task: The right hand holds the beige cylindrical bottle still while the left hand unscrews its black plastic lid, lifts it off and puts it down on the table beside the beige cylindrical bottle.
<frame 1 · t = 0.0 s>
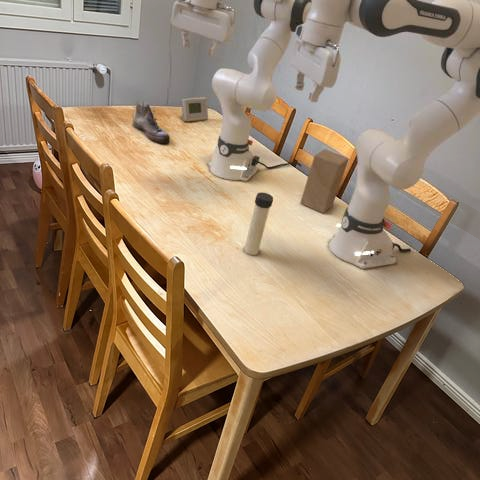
left hand: (198, 51, 131), 48 cm above the table, tool pointing down, fingers open, 8 cm apart
right hand: (305, 95, 110), 48 cm above the table, tool pointing down, fingers open, 8 cm apart
beige cylindrical bottle: (251, 250, 134), on the table
lid: (264, 197, 125), point 19 cm above the table, screwed on, not yet turned
digital clock: (193, 119, 226), on the table
wooden block: (316, 204, 170), on the table
shoe: (151, 134, 198), on the table
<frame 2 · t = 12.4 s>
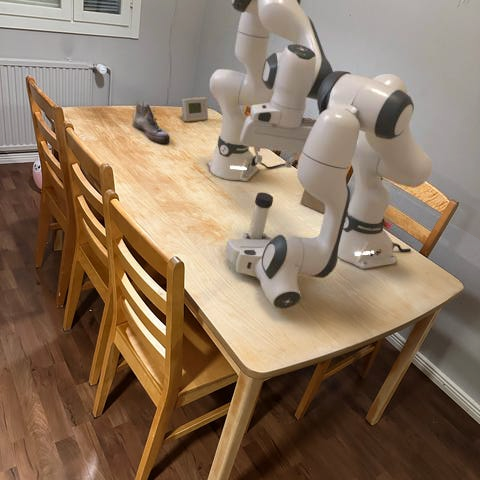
left hand: (272, 164, 119), 29 cm above the table, tool pointing down, fingers open, 7 cm apart
right hand: (253, 235, 132), 5 cm above the table, tool horizontal, fingers closed on beige cylindrical bottle, 4 cm apart
beige cylindrical bottle: (251, 250, 134), on the table, touching right hand
everything else where it was.
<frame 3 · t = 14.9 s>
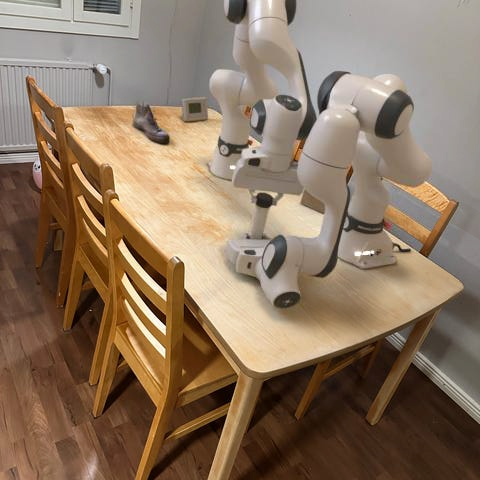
left hand: (263, 203, 126), 17 cm above the table, tool pointing down, fingers closed on lid, 4 cm apart
right hand: (253, 235, 132), 5 cm above the table, tool horizontal, fingers closed on beige cylindrical bottle, 4 cm apart
beige cylindrical bottle: (251, 250, 134), on the table, touching right hand
lid: (264, 197, 125), point 19 cm above the table, screwed on, not yet turned, touching left hand
everything else where it was.
when the left hand's fingers open (17 cm above the table, at t = 16.2 s): lid stays where it is, point 19 cm above the table.
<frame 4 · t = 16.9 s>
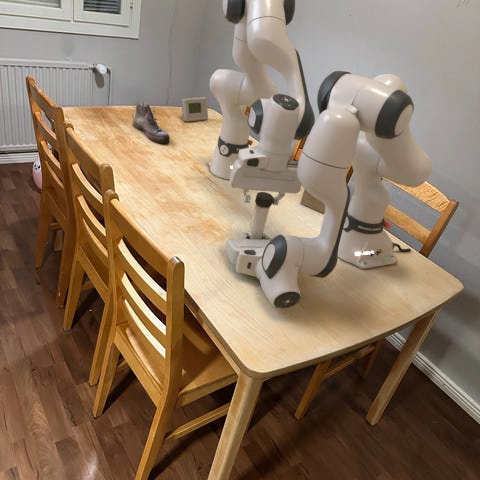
left hand: (260, 203, 125), 17 cm above the table, tool pointing down, fingers open, 7 cm apart
right hand: (253, 235, 132), 5 cm above the table, tool horizontal, fingers closed on beige cylindrical bottle, 4 cm apart
beige cylindrical bottle: (251, 251, 134), on the table, touching right hand
lid: (264, 196, 124), point 19 cm above the table, turned 68° so far, risen 0.2 cm, still on its thread
everything else where it was.
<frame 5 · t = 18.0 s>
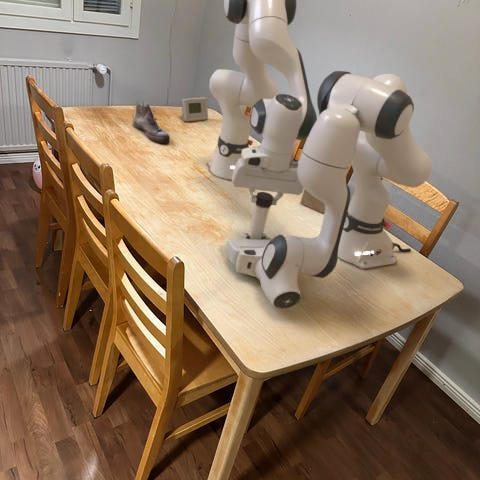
left hand: (263, 203, 126), 17 cm above the table, tool pointing down, fingers closed on lid, 4 cm apart
right hand: (253, 235, 132), 5 cm above the table, tool horizontal, fingers closed on beige cylindrical bottle, 4 cm apart
beige cylindrical bottle: (251, 251, 134), on the table, touching right hand
lid: (264, 196, 124), point 19 cm above the table, turned 68° so far, risen 0.2 cm, still on its thread, touching left hand
everything else where it was.
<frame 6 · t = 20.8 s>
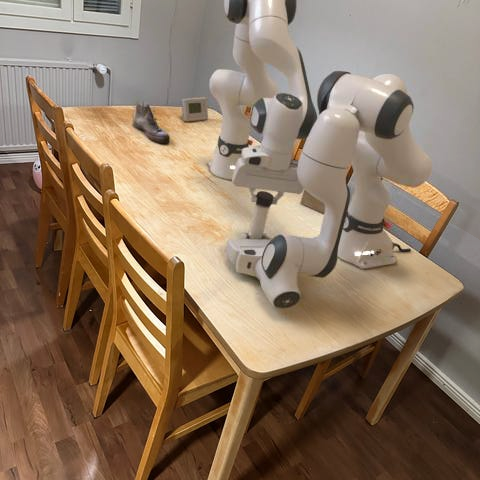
left hand: (263, 202, 125), 17 cm above the table, tool pointing down, fingers closed on lid, 4 cm apart
right hand: (253, 234, 132), 5 cm above the table, tool horizontal, fingers closed on beige cylindrical bottle, 4 cm apart
beige cylindrical bottle: (251, 250, 134), on the table, touching right hand
lid: (265, 196, 124), point 19 cm above the table, turned 135° so far, risen 0.4 cm, still on its thread, touching left hand
everything else where it was.
when the left hand's fingers open (2 cm above the table, at t = 26.7 s): lid drops 2 cm, point 2 cm above the table.
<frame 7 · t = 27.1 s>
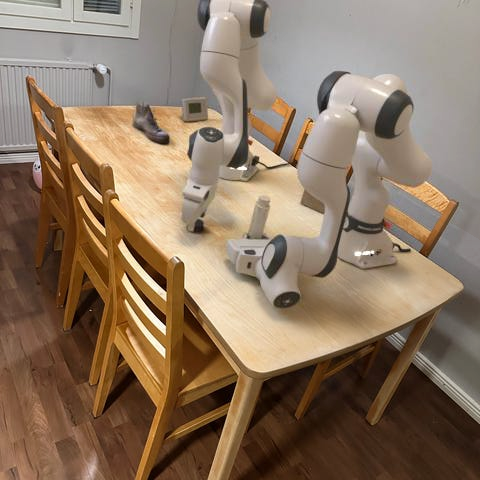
left hand: (196, 222, 138), 2 cm above the table, tool pointing down, fingers open, 8 cm apart
right hand: (253, 234, 132), 5 cm above the table, tool horizontal, fingers closed on beige cylindrical bottle, 4 cm apart
beige cylindrical bottle: (251, 250, 134), on the table, touching right hand
lid: (196, 223, 138), point 2 cm above the table, off its thread
everything else where it was.
when the right hand's fingers open (5 cm above the table, at t = 27.7 s): beige cylindrical bottle stays where it is, on the table.
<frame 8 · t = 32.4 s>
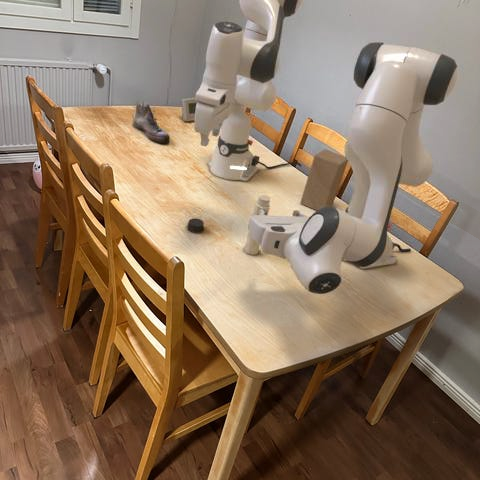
left hand: (209, 140, 123), 29 cm above the table, tool pointing down, fingers open, 8 cm apart
right hand: (279, 212, 115), 20 cm above the table, tool horizontal, fingers open, 8 cm apart
beige cylindrical bottle: (251, 250, 134), on the table
everything else where it was.
at the end: lid came off its thread; lid point 2.1 cm above the table; the left hand is holding nothing; the right hand is holding nothing; beige cylindrical bottle tilted 0°; beige cylindrical bottle moved 0.1 cm from its start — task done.
